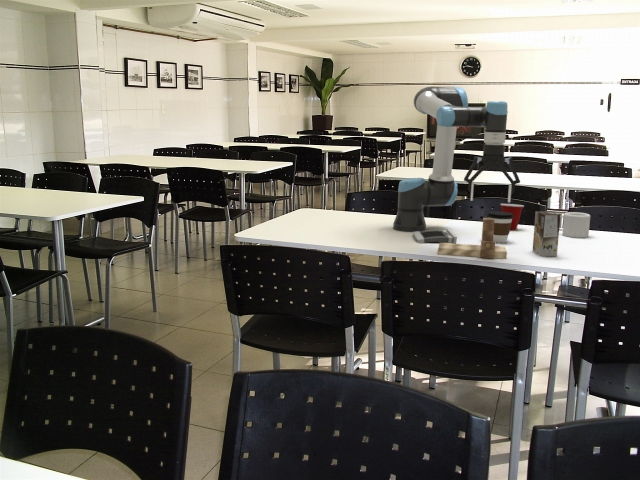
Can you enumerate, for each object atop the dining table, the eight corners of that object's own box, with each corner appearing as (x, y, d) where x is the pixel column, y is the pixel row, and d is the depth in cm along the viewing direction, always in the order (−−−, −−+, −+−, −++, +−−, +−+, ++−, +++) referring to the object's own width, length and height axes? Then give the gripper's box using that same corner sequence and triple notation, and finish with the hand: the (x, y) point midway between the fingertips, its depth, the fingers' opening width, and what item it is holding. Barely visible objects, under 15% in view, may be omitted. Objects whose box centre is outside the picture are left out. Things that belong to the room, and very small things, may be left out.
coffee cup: (497, 244, 253) (500, 216, 250) (479, 239, 262) (481, 212, 260) (517, 242, 258) (519, 214, 255) (499, 237, 267) (501, 210, 265)
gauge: (480, 258, 227) (482, 222, 224) (479, 250, 241) (481, 216, 238) (494, 259, 226) (496, 222, 223) (492, 250, 240) (494, 216, 237)
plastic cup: (523, 228, 290) (526, 203, 288) (520, 232, 281) (522, 206, 278) (500, 226, 295) (502, 201, 293) (496, 229, 286) (498, 204, 283)
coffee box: (557, 256, 233) (561, 214, 230) (541, 256, 233) (545, 214, 229) (547, 251, 242) (550, 210, 239) (531, 251, 242) (534, 210, 238)
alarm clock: (457, 237, 253) (417, 233, 253) (455, 248, 254) (416, 244, 254) (449, 229, 269) (412, 225, 270) (448, 239, 270) (411, 236, 271)
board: (438, 254, 233) (438, 247, 233) (439, 248, 243) (439, 242, 243) (506, 258, 228) (506, 251, 228) (504, 252, 238) (505, 246, 237)
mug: (588, 235, 277) (590, 213, 275) (587, 239, 267) (590, 216, 265) (556, 232, 282) (558, 210, 280) (554, 236, 273) (556, 214, 271)
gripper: (459, 143, 225) (456, 200, 229) (530, 145, 220) (525, 204, 224) (459, 142, 232) (456, 198, 237) (528, 144, 227) (523, 201, 231)
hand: (490, 201), depth 230 cm, fingers open, 13 cm apart
